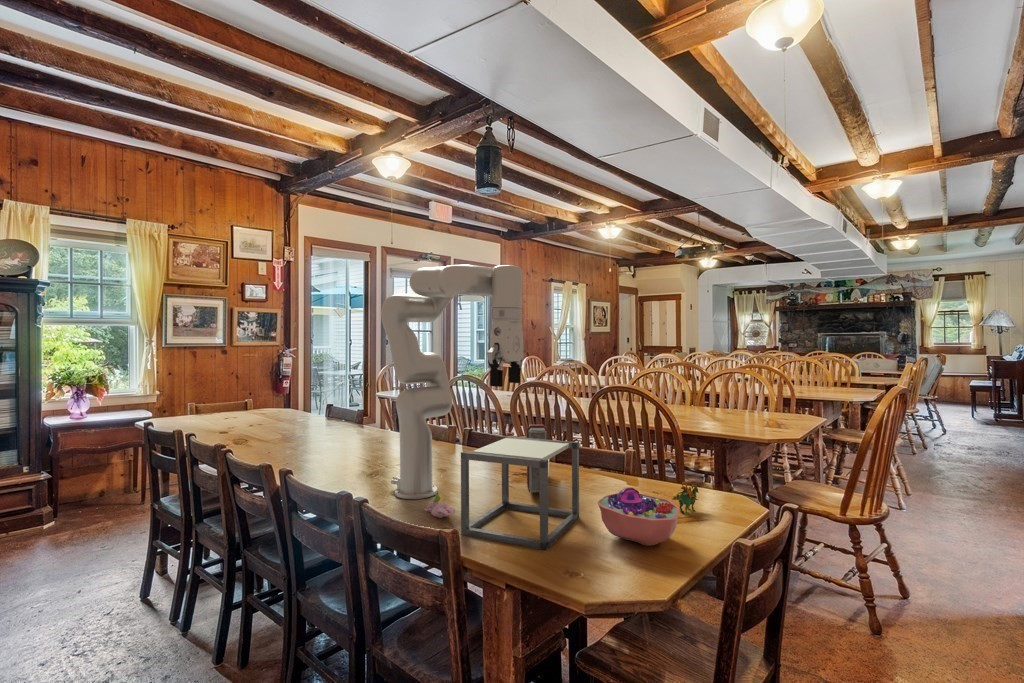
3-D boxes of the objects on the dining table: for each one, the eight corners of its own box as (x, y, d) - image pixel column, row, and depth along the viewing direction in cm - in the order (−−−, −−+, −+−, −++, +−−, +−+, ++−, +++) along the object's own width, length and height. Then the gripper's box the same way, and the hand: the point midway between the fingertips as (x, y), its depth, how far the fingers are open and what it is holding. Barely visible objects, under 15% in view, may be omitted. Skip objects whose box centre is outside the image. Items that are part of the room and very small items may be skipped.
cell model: (635, 564, 108) (635, 509, 108) (584, 531, 127) (584, 484, 126) (699, 550, 115) (699, 498, 115) (641, 521, 133) (641, 476, 133)
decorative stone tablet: (549, 428, 152) (545, 421, 182) (526, 428, 152) (526, 421, 182) (549, 496, 151) (545, 478, 181) (527, 496, 151) (526, 477, 181)
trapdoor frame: (461, 534, 125) (460, 452, 124) (504, 506, 145) (503, 435, 145) (545, 550, 115) (545, 461, 115) (579, 517, 136) (578, 442, 136)
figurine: (703, 509, 142) (703, 479, 142) (676, 519, 134) (676, 487, 134) (693, 506, 144) (693, 476, 144) (666, 515, 137) (666, 484, 137)
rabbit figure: (419, 516, 142) (439, 524, 129) (417, 493, 143) (438, 499, 130) (440, 512, 145) (463, 519, 132) (439, 490, 146) (461, 495, 133)
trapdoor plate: (472, 455, 126) (472, 450, 126) (506, 441, 143) (506, 437, 143) (542, 463, 118) (542, 458, 118) (569, 447, 135) (569, 442, 135)
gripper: (503, 314, 121) (502, 389, 122) (534, 316, 137) (533, 382, 137) (475, 314, 124) (474, 387, 125) (509, 316, 140) (508, 380, 140)
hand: (505, 384), depth 131 cm, fingers open, 9 cm apart
